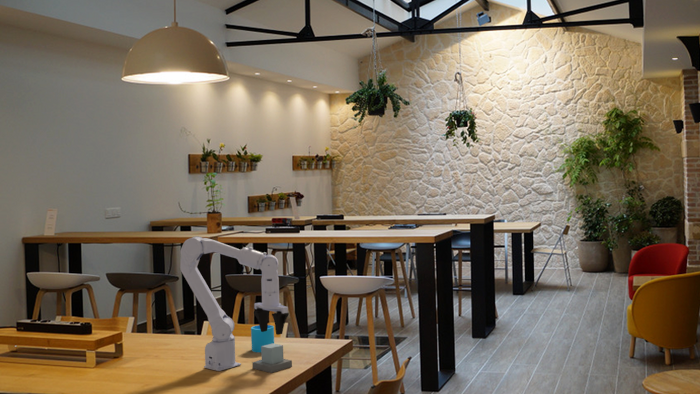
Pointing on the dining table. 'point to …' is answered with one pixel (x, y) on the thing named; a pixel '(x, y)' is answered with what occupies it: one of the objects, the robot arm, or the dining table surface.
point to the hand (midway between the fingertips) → (271, 332)
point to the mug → (261, 337)
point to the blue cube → (272, 353)
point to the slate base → (272, 365)
